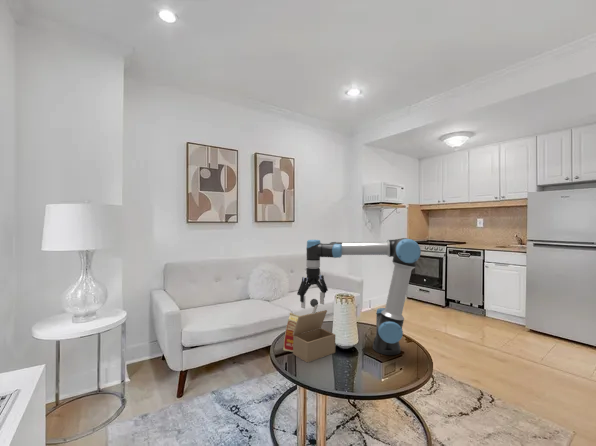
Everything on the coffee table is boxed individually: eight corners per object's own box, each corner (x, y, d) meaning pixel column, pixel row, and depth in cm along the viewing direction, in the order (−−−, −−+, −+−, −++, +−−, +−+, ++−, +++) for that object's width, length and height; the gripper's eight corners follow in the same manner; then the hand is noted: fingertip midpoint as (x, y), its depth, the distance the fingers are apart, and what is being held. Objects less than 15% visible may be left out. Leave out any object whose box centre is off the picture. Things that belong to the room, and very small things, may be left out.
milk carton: (283, 350, 163) (283, 314, 163) (288, 343, 171) (289, 309, 171) (298, 352, 160) (299, 316, 160) (303, 346, 168) (304, 311, 168)
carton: (335, 352, 160) (335, 334, 161) (307, 362, 148) (307, 343, 148) (320, 345, 170) (320, 328, 170) (293, 354, 158) (293, 335, 158)
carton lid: (331, 299, 164) (326, 294, 167) (303, 305, 151) (298, 299, 155) (320, 328, 170) (316, 322, 174) (293, 335, 158) (288, 329, 161)
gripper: (325, 265, 172) (324, 301, 172) (291, 268, 157) (290, 308, 156) (334, 266, 166) (333, 303, 166) (299, 270, 151) (299, 311, 151)
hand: (312, 305), depth 161 cm, fingers open, 13 cm apart
